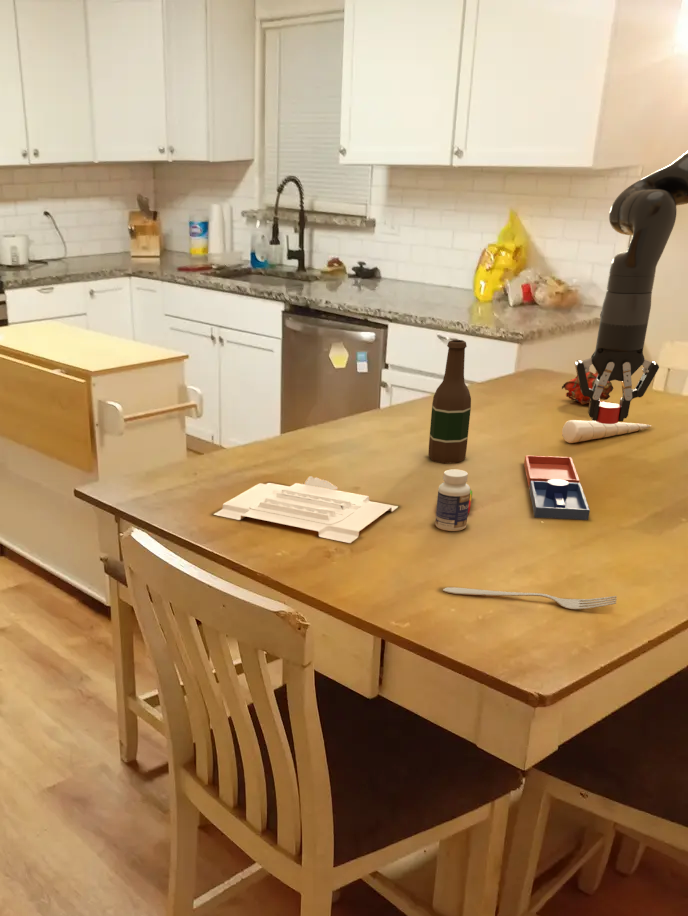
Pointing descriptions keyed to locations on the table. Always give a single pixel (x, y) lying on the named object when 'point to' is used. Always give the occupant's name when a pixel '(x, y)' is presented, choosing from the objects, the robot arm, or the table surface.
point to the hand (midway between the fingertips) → (607, 419)
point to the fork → (563, 602)
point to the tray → (307, 508)
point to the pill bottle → (453, 501)
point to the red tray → (550, 469)
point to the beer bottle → (451, 410)
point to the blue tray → (573, 503)
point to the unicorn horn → (596, 430)
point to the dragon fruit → (575, 388)
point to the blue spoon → (557, 491)
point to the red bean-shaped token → (608, 413)
